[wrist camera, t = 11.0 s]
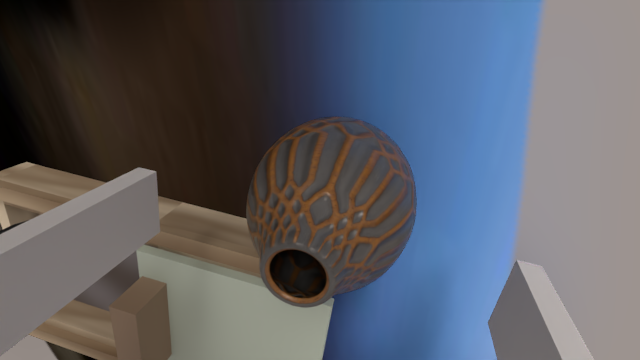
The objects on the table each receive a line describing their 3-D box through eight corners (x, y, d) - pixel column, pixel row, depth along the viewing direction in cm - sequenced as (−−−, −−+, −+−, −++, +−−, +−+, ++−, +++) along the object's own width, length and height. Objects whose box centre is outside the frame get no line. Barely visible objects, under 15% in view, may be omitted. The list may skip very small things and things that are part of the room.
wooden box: (26, 162, 24) (-25, 180, 21) (309, 234, 20) (292, 267, 17) (62, 304, 29) (25, 333, 26) (288, 380, 26) (273, 422, 23)
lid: (143, 244, 20) (100, 278, 17) (334, 298, 18) (320, 347, 16) (155, 356, 24) (122, 398, 22) (312, 410, 22) (297, 464, 20)
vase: (337, 247, 20) (288, 385, 12) (259, 154, 19) (151, 243, 11) (444, 186, 17) (468, 318, 9) (359, 72, 16) (306, 115, 8)
